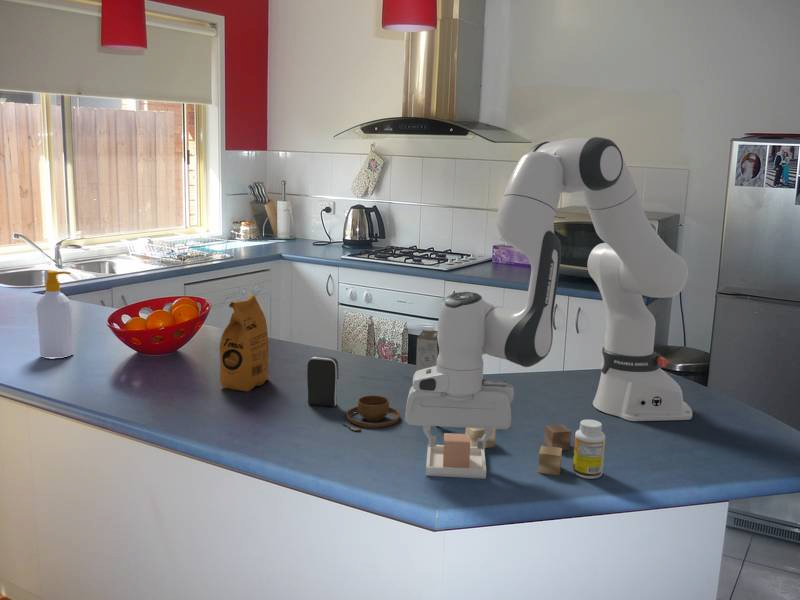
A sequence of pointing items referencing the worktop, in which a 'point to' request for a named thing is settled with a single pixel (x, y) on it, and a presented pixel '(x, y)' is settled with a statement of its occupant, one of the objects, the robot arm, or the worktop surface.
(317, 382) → the battery charger
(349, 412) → the place setting
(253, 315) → the coffee package
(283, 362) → the worktop surface
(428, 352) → the coffee box
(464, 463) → the terracotta block
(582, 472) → the supplement bottle
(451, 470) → the tray
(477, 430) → the beech block
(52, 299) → the soap bottle
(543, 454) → the oak block
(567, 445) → the walnut block
